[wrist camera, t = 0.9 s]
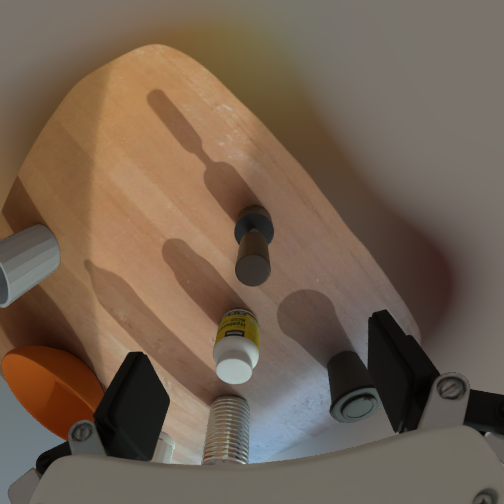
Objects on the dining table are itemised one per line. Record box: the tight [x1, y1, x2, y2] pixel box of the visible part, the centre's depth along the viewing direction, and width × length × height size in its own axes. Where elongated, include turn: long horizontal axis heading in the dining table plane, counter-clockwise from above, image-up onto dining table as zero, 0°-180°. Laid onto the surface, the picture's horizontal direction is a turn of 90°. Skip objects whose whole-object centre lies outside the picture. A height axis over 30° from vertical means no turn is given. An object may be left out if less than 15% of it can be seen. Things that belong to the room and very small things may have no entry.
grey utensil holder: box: [0, 224, 60, 308], centre depth 29 cm, size 8×8×12 cm
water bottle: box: [201, 395, 250, 465], centre depth 32 cm, size 7×7×25 cm
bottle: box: [149, 432, 175, 464], centre depth 35 cm, size 8×8×28 cm
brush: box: [234, 205, 274, 286], centre depth 26 cm, size 4×4×15 cm
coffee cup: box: [328, 351, 382, 423], centre depth 35 cm, size 8×8×10 cm
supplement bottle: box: [213, 309, 259, 384], centre depth 33 cm, size 5×5×10 cm
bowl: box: [2, 345, 104, 441], centre depth 39 cm, size 25×25×10 cm
